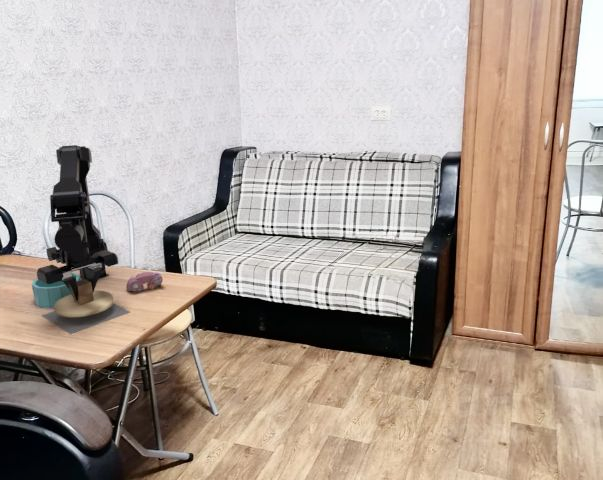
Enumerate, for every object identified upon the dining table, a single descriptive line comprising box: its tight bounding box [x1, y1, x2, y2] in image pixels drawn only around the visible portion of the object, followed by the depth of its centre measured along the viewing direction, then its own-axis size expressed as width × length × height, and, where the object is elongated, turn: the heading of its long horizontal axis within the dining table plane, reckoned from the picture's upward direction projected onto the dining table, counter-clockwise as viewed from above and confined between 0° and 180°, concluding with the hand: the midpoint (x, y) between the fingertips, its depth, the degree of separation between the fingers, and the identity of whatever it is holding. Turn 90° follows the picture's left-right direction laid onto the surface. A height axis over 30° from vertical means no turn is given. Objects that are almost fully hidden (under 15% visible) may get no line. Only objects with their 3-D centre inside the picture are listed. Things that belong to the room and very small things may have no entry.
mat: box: [41, 302, 131, 335], centre depth 148 cm, size 16×16×1 cm
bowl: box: [31, 272, 81, 309], centre depth 157 cm, size 12×12×6 cm
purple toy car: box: [125, 271, 164, 292], centre depth 162 cm, size 10×5×7 cm, turn 118°
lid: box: [54, 279, 114, 317], centre depth 146 cm, size 14×14×6 cm
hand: (83, 298), depth 147 cm, fingers closed on lid, 3 cm apart
